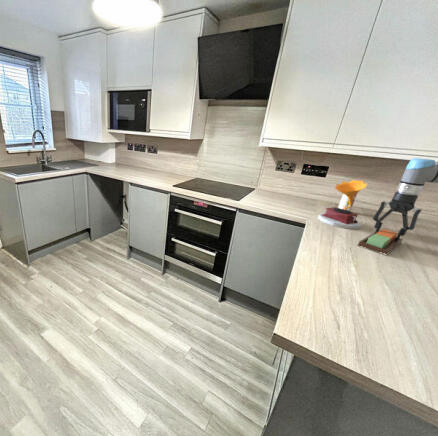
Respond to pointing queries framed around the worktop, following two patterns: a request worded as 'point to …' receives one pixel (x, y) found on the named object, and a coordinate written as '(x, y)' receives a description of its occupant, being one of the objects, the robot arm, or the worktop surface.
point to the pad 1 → (378, 240)
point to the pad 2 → (388, 234)
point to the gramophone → (344, 216)
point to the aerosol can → (346, 202)
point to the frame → (383, 250)
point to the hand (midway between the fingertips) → (385, 237)
